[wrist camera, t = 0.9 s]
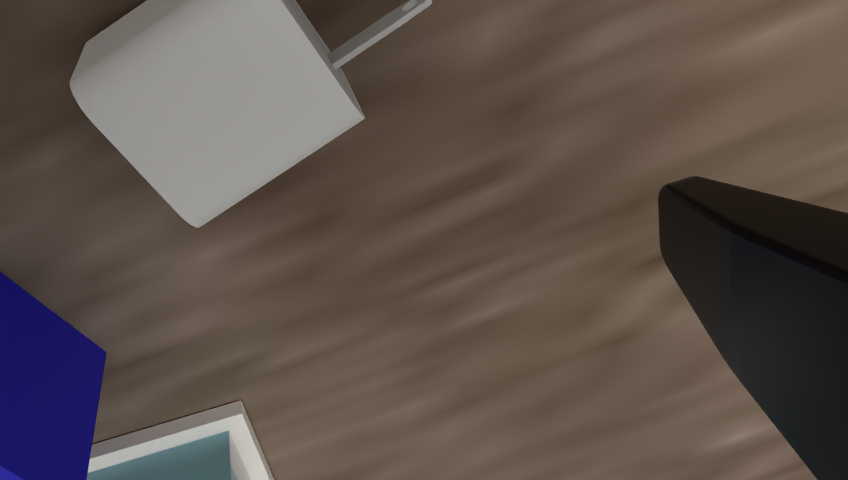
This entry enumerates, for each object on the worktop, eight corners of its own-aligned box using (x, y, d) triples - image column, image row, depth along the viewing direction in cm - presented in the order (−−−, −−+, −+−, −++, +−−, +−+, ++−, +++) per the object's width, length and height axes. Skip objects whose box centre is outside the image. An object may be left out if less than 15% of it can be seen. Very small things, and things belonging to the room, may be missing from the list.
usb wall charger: (89, 33, 18) (64, 93, 15) (340, -141, 18) (373, -120, 14) (201, 161, 20) (202, 239, 17) (428, 10, 20) (474, 59, 16)
